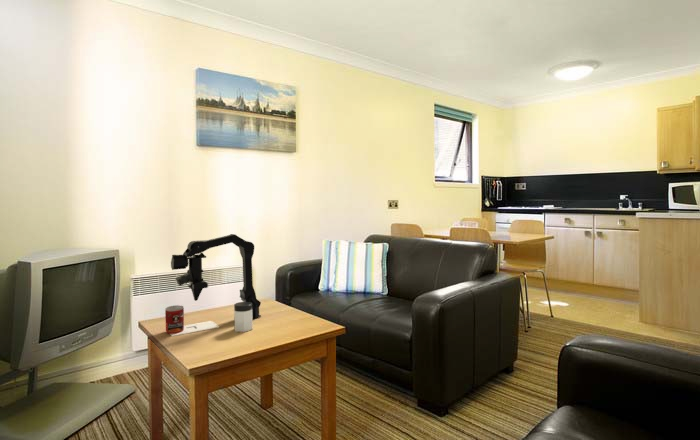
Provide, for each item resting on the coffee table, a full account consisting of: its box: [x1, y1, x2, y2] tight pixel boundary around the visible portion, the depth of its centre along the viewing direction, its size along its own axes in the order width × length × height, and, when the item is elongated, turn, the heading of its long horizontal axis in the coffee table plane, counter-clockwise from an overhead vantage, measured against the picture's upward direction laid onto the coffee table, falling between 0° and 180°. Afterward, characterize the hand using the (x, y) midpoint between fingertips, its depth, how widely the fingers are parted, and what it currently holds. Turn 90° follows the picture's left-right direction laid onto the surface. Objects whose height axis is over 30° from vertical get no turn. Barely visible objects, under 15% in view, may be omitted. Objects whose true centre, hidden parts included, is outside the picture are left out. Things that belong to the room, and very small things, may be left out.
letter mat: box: [169, 320, 220, 337], centre depth 181 cm, size 21×12×1 cm, turn 126°
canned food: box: [164, 304, 185, 335], centre depth 176 cm, size 8×8×11 cm
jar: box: [233, 301, 254, 333], centre depth 180 cm, size 9×8×12 cm
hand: (195, 300), depth 182 cm, fingers closed
